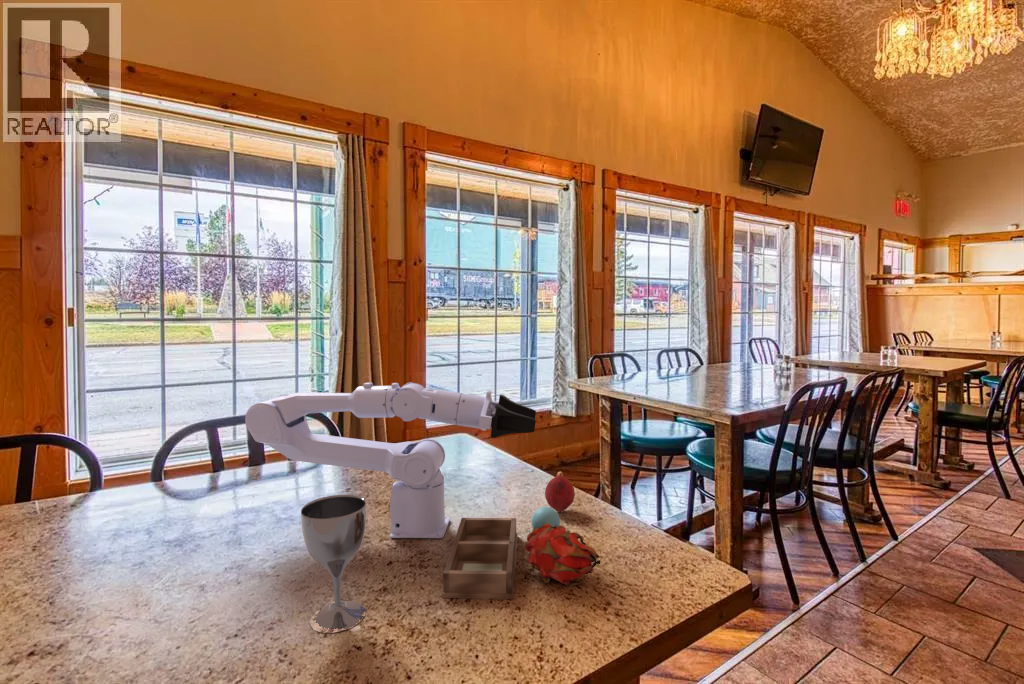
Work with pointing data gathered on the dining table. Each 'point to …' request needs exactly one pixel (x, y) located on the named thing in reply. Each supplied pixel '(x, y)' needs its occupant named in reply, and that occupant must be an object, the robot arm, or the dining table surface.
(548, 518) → the ball
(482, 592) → the divided wooden tray
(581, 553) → the dragon fruit
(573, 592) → the dining table surface
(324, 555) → the wine glass
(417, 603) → the dining table surface
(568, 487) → the onion
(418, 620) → the dining table surface
